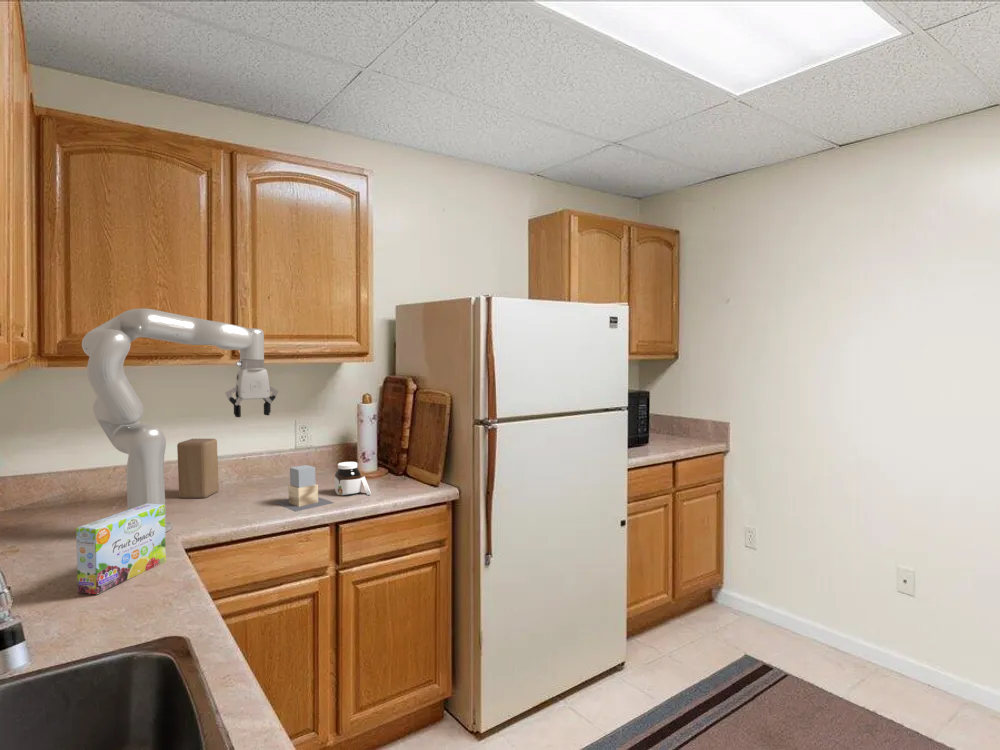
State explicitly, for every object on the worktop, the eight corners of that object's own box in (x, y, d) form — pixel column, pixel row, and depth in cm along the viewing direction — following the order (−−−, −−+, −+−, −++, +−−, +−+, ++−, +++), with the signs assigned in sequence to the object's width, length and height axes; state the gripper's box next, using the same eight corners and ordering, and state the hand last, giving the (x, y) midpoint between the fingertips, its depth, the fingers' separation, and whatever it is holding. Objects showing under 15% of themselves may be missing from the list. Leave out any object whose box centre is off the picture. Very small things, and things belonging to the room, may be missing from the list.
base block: (298, 506, 199) (298, 488, 198) (288, 502, 204) (288, 485, 203) (318, 502, 204) (317, 484, 203) (308, 498, 209) (307, 481, 208)
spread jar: (332, 494, 218) (331, 463, 217) (360, 489, 225) (359, 458, 224) (347, 501, 208) (346, 468, 208) (376, 495, 216) (375, 463, 215)
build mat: (295, 514, 193) (295, 511, 193) (272, 505, 204) (272, 502, 204) (334, 505, 203) (334, 502, 203) (310, 497, 214) (310, 494, 214)
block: (193, 491, 224) (191, 438, 223) (219, 491, 223) (217, 438, 222) (178, 498, 214) (175, 442, 213) (205, 498, 213) (203, 442, 212)
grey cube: (299, 488, 199) (298, 470, 199) (290, 485, 203) (289, 467, 203) (315, 484, 203) (315, 467, 203) (306, 482, 208) (306, 464, 207)
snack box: (98, 596, 132) (95, 528, 131) (76, 594, 133) (73, 527, 132) (168, 561, 153) (165, 502, 152) (148, 560, 154) (145, 501, 153)
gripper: (229, 365, 194) (230, 418, 194) (281, 365, 206) (282, 415, 206) (221, 365, 199) (221, 416, 200) (272, 364, 211) (272, 413, 212)
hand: (252, 416), depth 203 cm, fingers open, 9 cm apart
